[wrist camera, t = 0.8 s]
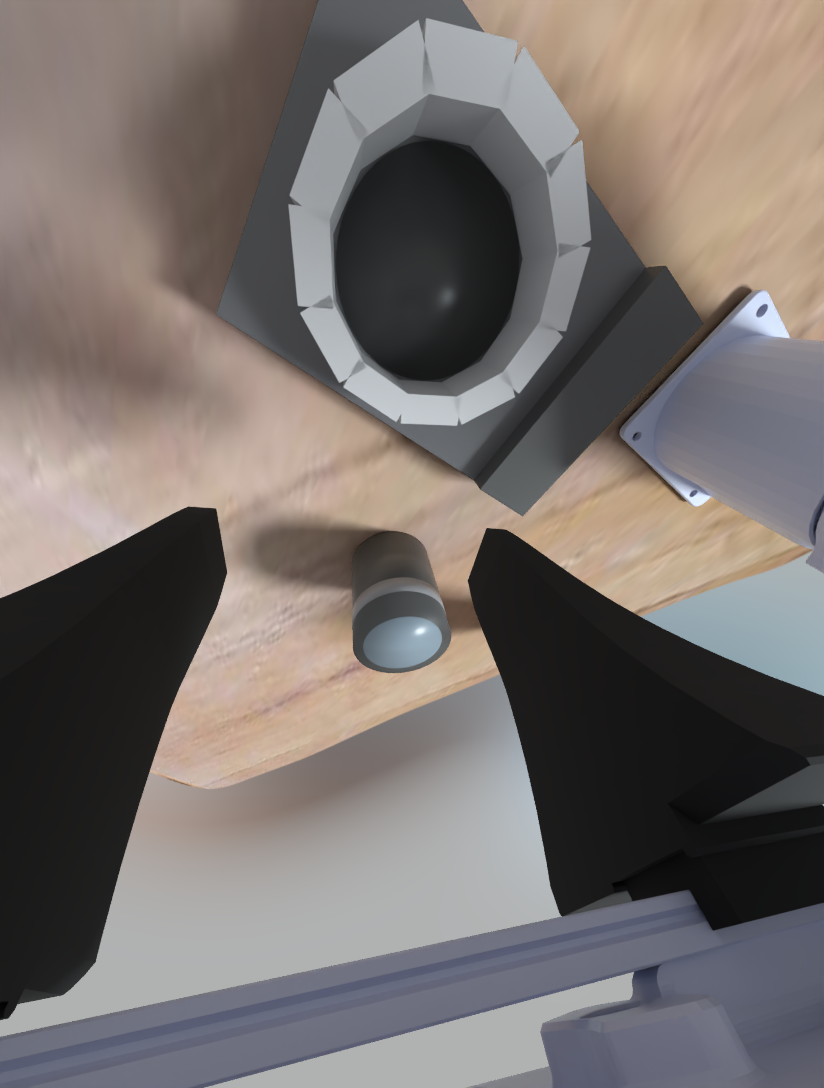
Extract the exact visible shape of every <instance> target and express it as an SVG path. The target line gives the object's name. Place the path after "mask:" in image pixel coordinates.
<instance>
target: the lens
mask: <svg viewBox="0 0 824 1088" xmlns="http://www.w3.org/2000/svg"><path fill="white" fill-rule="evenodd" d="M352 602H353V610H352V629H353V651H354V654H355V656H356V658H357V659H358V660H359V661H360V662H361V663H362V664H363V665H365V666H366V667H368V668H370V669H372V670H376V671H379V672H385V673H402V672H409V671H413V670H417V669H420V668H422V667H425V666H427V665H429V664H431V663H432V662H434V661H435V660H437V659H438V658H439V657H440V656H441V655H442V654H443V653H444V652H445V651H446V649H447V648H448V646H449V644H450V641H451V630H450V627H449V624H448V620H447V617H446V613H445V609H444V606H443V603H442V599H441V596H440V594H439V591H438V587H437V584H436V581H435V578H434V574H433V571H432V568H431V565H430V561H429V558H428V555H427V551H426V549H425V547H424V546H423V544H422V543H421V542H420V541H419V540H418V539H417V538H415V537H413V536H412V535H409V534H406V533H403V532H393V531H392V532H383V533H379V534H376V535H374V536H372V537H370V538H368V539H366V540H365V541H364V542H363V543H362V544H360V546H359V547H358V548H357V549H356V551H355V553H354V555H353V559H352Z"/></svg>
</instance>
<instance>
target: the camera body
mask: <svg viewBox="0 0 824 1088" xmlns="http://www.w3.org/2000/svg"><path fill="white" fill-rule="evenodd" d="M517 43H518V41H516V40H512V39H508V38H504V37H500V36H496V35H492V34H488V33H484V31H483V30H482V28H481V27H480V25H479V24H478V22H477V21H476V20H475V18H474V17H473V15H472V14H471V12H470V11H469V9H468V8H467V6H466V5H465V4H464V2H463V1H462V0H318V3H317V6H316V9H315V12H314V15H313V18H312V21H311V25H310V28H309V31H308V34H307V37H306V40H305V43H304V46H303V49H302V52H301V55H300V58H299V61H298V65H297V68H296V71H295V74H294V77H293V80H292V83H291V86H290V89H289V92H288V95H287V98H286V101H285V104H284V108H283V111H282V114H281V117H280V120H279V123H278V126H277V129H276V132H275V135H274V138H273V141H272V144H271V148H270V151H269V154H268V157H267V160H266V163H265V166H264V169H263V172H262V175H261V178H260V181H259V184H258V187H257V191H256V194H255V197H254V200H253V203H252V206H251V209H250V212H249V215H248V218H247V221H246V224H245V227H244V231H243V234H242V237H241V240H240V243H239V246H238V249H237V252H236V255H235V258H234V261H233V264H232V267H231V270H230V274H229V277H228V280H227V283H226V286H225V289H224V292H223V295H222V298H221V301H220V304H219V307H218V310H217V314H216V315H218V316H219V317H221V318H222V319H224V320H226V321H227V322H229V323H230V324H232V325H233V326H235V327H236V328H238V329H240V330H241V331H243V332H244V333H246V334H247V335H249V336H250V337H252V338H254V339H255V340H257V341H258V342H260V343H261V344H263V345H264V346H266V347H268V348H269V349H271V350H272V351H274V352H275V353H277V354H278V355H280V356H282V357H283V358H285V359H286V360H288V361H289V362H291V363H292V364H294V365H296V366H297V367H299V368H300V369H302V370H303V371H305V372H306V373H308V374H310V375H311V376H313V377H314V378H316V379H317V380H319V381H320V382H322V383H324V384H325V385H327V386H328V387H330V388H331V389H333V390H334V391H336V392H338V393H339V394H341V395H342V396H344V397H345V398H347V399H348V400H350V401H352V402H353V403H355V404H356V405H358V406H359V407H361V408H362V409H364V410H366V411H367V412H369V413H370V414H372V415H373V416H375V417H376V418H378V419H380V420H381V421H383V422H384V423H386V424H387V425H389V426H390V427H392V428H394V429H395V430H397V431H398V432H400V433H401V434H403V435H404V436H406V437H408V438H409V439H411V440H412V441H414V442H415V443H417V444H418V445H420V446H422V447H423V448H425V449H426V450H428V451H429V452H431V453H432V454H434V455H436V456H437V457H439V458H440V459H442V460H443V461H445V462H446V463H448V464H449V465H451V466H453V467H454V468H456V469H457V470H459V471H460V472H462V473H463V474H465V475H467V476H468V477H470V478H471V479H473V480H474V481H475V483H476V484H477V485H478V487H479V488H480V490H482V491H484V492H485V493H487V494H488V495H490V496H491V497H493V498H495V499H496V500H498V501H499V502H501V503H502V504H504V505H506V506H507V507H509V508H510V509H512V510H514V511H515V512H517V513H518V514H520V515H521V516H524V514H525V513H526V512H527V511H528V510H529V509H530V508H531V507H532V506H533V505H534V504H535V503H536V502H537V501H538V499H539V498H540V497H541V496H542V495H543V494H544V493H545V492H546V491H547V490H548V489H549V488H550V487H551V486H552V485H553V483H554V482H555V481H556V480H557V479H558V478H559V477H560V476H561V475H562V474H563V473H564V472H565V471H566V470H567V469H568V467H569V466H570V465H571V464H572V463H573V462H574V461H575V460H576V459H577V458H578V457H579V456H580V455H581V454H582V453H583V451H584V450H585V449H586V448H587V447H588V446H589V445H590V444H591V443H592V442H593V441H594V440H595V439H596V438H597V437H598V435H599V434H600V433H601V432H602V431H603V430H604V429H605V428H606V427H607V426H608V425H609V424H610V423H611V422H612V421H613V419H614V418H615V417H616V416H617V415H618V414H619V413H620V412H621V411H622V410H623V409H624V408H625V407H626V406H627V405H628V403H629V402H630V401H631V400H632V399H633V398H634V397H635V396H636V395H637V394H638V393H639V392H640V391H641V390H642V389H643V387H644V386H645V385H646V384H647V383H648V382H649V381H650V380H651V379H652V378H653V377H654V376H655V375H656V374H657V373H658V371H659V370H660V369H661V368H662V367H663V366H664V365H665V364H666V363H667V362H668V361H669V360H670V359H671V358H672V356H673V355H674V354H675V353H676V352H677V351H678V350H679V349H680V348H681V347H682V346H683V345H684V344H685V343H686V342H687V340H688V339H689V338H690V337H691V336H692V335H693V334H694V333H695V332H696V331H697V330H698V329H699V328H700V327H701V326H702V324H703V322H702V321H701V319H700V318H699V316H698V314H697V313H696V311H695V310H694V308H693V307H692V305H691V304H690V302H689V301H688V299H687V298H686V296H685V294H684V293H683V291H682V290H681V288H680V287H679V285H678V284H677V282H676V281H675V279H674V278H673V276H672V274H671V273H670V271H669V270H668V268H667V267H666V266H658V267H648V268H646V267H645V266H644V264H643V263H642V262H641V260H640V259H639V257H638V256H637V254H636V253H635V251H634V250H633V248H632V247H631V245H630V244H629V243H628V241H627V240H626V238H625V237H624V235H623V234H622V232H621V231H620V229H619V228H618V227H617V225H616V224H615V222H614V221H613V219H612V218H611V216H610V215H609V213H608V212H607V211H606V209H605V208H604V206H603V205H602V203H601V202H600V200H599V199H598V197H597V196H596V194H595V193H594V192H593V190H592V189H591V187H590V186H589V184H588V183H587V181H586V176H585V165H584V154H583V142H582V140H581V141H579V142H578V143H576V144H574V145H573V146H571V145H572V143H573V141H574V140H575V138H576V137H577V135H578V133H579V132H580V131H579V130H578V128H577V127H576V125H575V124H574V122H573V120H572V119H571V117H570V116H569V114H568V113H567V111H566V110H565V108H564V107H563V105H562V103H561V102H560V100H559V99H558V97H557V96H556V94H555V93H554V91H553V90H552V88H551V86H550V85H549V83H548V82H547V80H546V79H545V77H544V76H543V74H542V73H541V71H540V69H539V68H538V66H537V65H536V63H535V62H534V60H533V59H532V57H531V56H530V54H529V52H528V51H527V49H526V48H525V46H524V47H523V48H522V50H521V51H520V53H519V54H518V56H517V57H516V58H515V56H516V50H517ZM570 146H571V147H570Z"/></svg>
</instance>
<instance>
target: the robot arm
mask: <svg viewBox="0 0 824 1088" xmlns="http://www.w3.org/2000/svg"><path fill="white" fill-rule="evenodd" d="M759 307H760V308H759ZM758 309H759V311H758V312H757V310H758ZM756 313H757V314H756ZM636 432H637V434H636V436H635V437H634V438H633V435H634V434H635V433H636ZM620 437H621V438H622V439H623V440H624V441H625V442H626V443H627V444H628V445H629V446H630V447H631V448H632V449H634V450H635V451H636V452H637V453H638V454H639V455H640V456H641V457H642V458H643V459H644V460H645V461H646V462H647V463H648V464H649V465H650V466H651V467H652V468H653V469H654V470H655V471H656V472H657V473H658V474H659V475H660V476H661V477H662V478H663V479H664V480H665V481H667V482H668V483H669V484H670V485H671V486H672V487H673V488H674V489H675V490H676V491H677V492H678V493H679V494H680V495H681V496H682V497H683V498H684V499H685V500H686V501H687V502H688V503H689V504H691V505H693V506H700V505H702V504H703V503H704V502H706V501H707V500H708V499H709V498H710V497H713V498H714V499H716V500H718V501H720V502H722V503H724V504H725V505H727V506H729V507H731V508H733V509H734V510H736V511H738V512H740V513H742V514H743V515H745V516H747V517H749V518H751V519H752V520H754V521H756V522H758V523H760V524H762V525H763V526H765V527H767V528H769V529H771V530H772V531H774V532H776V533H778V534H780V535H781V536H783V537H785V538H787V539H789V540H791V541H792V542H794V543H796V544H799V545H801V546H803V547H806V548H809V549H812V550H813V551H812V553H811V555H810V556H809V557H808V559H807V560H806V563H807V564H809V565H810V566H812V567H814V568H816V569H817V570H819V571H821V572H823V573H824V341H815V340H804V339H794V338H790V336H789V334H788V332H787V330H786V328H785V326H784V324H783V322H782V320H781V318H780V316H779V314H778V312H777V310H776V308H775V306H774V304H773V302H772V300H771V298H770V296H769V294H768V292H767V291H766V290H755V291H753V292H751V293H750V294H749V295H747V296H746V297H745V298H744V299H743V300H742V302H741V303H740V304H739V305H738V306H737V307H736V308H735V309H734V310H733V311H732V312H731V313H730V314H729V315H728V316H727V317H726V318H725V319H724V320H723V321H722V322H721V323H720V324H719V326H718V327H717V328H716V329H715V330H714V331H713V332H712V333H711V334H710V335H709V336H708V337H707V338H706V339H705V340H704V341H703V342H702V343H701V344H700V345H699V346H698V347H697V348H696V350H695V351H694V352H693V353H692V354H691V355H690V356H689V357H688V358H687V359H686V360H685V361H684V362H683V363H682V364H681V365H680V366H679V367H678V368H677V369H676V370H675V371H674V372H673V374H672V375H671V376H670V377H669V378H668V379H667V380H666V381H665V382H664V383H663V384H662V385H661V386H660V387H659V388H658V389H657V390H656V391H655V392H654V393H653V394H652V395H651V396H650V398H649V399H648V400H647V401H646V402H645V403H644V404H643V405H642V406H641V407H640V408H639V409H638V410H637V411H636V412H635V413H634V414H633V415H632V416H631V417H630V418H629V419H628V420H627V422H626V423H625V424H624V425H623V426H622V427H621V429H620ZM226 575H227V569H226V563H225V557H224V552H223V546H222V540H221V534H220V528H219V523H218V517H217V511H216V509H214V508H200V507H187V508H184V509H182V510H180V511H178V512H176V513H174V514H172V515H170V516H168V517H166V518H164V519H162V520H161V521H159V522H157V523H155V524H153V525H151V526H149V527H148V528H146V529H144V530H142V531H140V532H138V533H136V534H135V535H133V536H131V537H129V538H127V539H125V540H123V541H121V542H120V543H118V544H116V545H114V546H112V547H110V548H108V549H106V550H104V551H102V552H100V553H98V554H96V555H94V556H92V557H90V558H88V559H86V560H84V561H82V562H80V563H78V564H76V565H74V566H72V567H70V568H67V569H65V570H63V571H61V572H59V573H57V574H55V575H53V576H51V577H49V578H47V579H44V580H42V581H40V582H38V583H35V584H33V585H31V586H29V587H26V588H24V589H22V590H19V591H17V592H15V593H12V594H10V595H7V596H5V597H2V598H0V1020H3V1019H7V1018H9V1017H10V1015H11V1014H12V1013H13V1011H14V1010H15V1008H16V1006H17V1004H20V1003H25V1002H30V1001H36V1000H41V999H45V998H50V997H55V996H61V995H64V994H65V993H66V992H67V991H68V990H70V989H71V988H72V987H73V986H74V985H75V984H76V983H77V982H78V981H79V980H80V979H81V978H82V977H83V976H84V975H85V974H86V973H87V972H88V970H89V969H90V968H91V967H92V966H93V964H94V963H95V962H96V958H97V954H98V950H99V946H100V942H101V938H102V934H103V930H104V927H105V923H106V919H107V915H108V912H109V908H110V904H111V901H112V896H113V893H114V889H115V886H116V882H117V878H118V874H119V871H120V867H121V864H122V860H123V857H124V853H125V850H126V847H127V843H128V840H129V837H130V833H131V830H132V826H133V823H134V820H135V816H136V812H137V809H138V806H139V802H140V799H141V797H142V793H143V790H144V787H145V784H146V781H147V777H148V774H149V772H150V768H151V765H152V762H153V759H154V756H155V753H156V750H157V747H158V744H159V741H160V738H161V735H162V733H163V730H164V727H165V724H166V721H167V718H168V715H169V712H170V709H171V707H172V704H173V702H174V699H175V697H176V695H177V692H178V690H179V687H180V685H181V683H182V681H183V679H184V677H185V675H186V673H187V670H188V668H189V666H190V664H191V662H192V660H193V658H194V655H195V653H196V651H197V649H198V647H199V645H200V643H201V640H202V638H203V636H204V634H205V632H206V630H207V628H208V625H209V623H210V621H211V619H212V617H213V614H214V612H215V610H216V608H217V605H218V602H219V599H220V595H221V592H222V589H223V585H224V582H225V578H226ZM468 584H469V588H470V593H471V597H472V601H473V605H474V609H475V612H476V615H477V617H478V620H479V622H480V625H481V627H482V630H483V633H484V635H485V638H486V640H487V643H488V645H489V648H490V650H491V652H492V655H493V657H494V660H495V662H496V665H497V667H498V670H499V672H500V675H501V677H502V680H503V683H504V686H505V689H506V692H507V695H508V698H509V702H510V705H511V709H512V712H513V716H514V719H515V723H516V726H517V730H518V734H519V738H520V741H521V745H522V749H523V753H524V757H525V761H526V765H527V769H528V773H529V778H530V782H531V787H532V792H533V796H534V801H535V805H536V810H537V815H538V820H539V825H540V830H541V835H542V841H543V846H544V851H545V857H546V862H547V868H548V874H549V880H550V886H551V889H552V892H553V895H554V898H555V901H556V904H557V907H558V910H559V913H560V914H561V916H562V917H558V918H554V919H549V920H544V921H540V922H535V923H530V924H526V925H521V926H516V927H512V928H507V929H502V930H498V931H493V932H488V933H484V934H479V935H474V936H470V937H465V938H460V939H456V940H451V941H446V942H442V943H437V944H433V945H428V946H423V947H419V948H414V949H409V950H404V951H400V952H395V953H390V954H386V955H381V956H376V957H372V958H367V959H362V960H358V961H353V962H348V963H343V964H339V965H334V966H329V967H325V968H321V969H316V970H311V971H307V972H302V973H297V974H292V975H288V976H283V977H278V978H273V979H269V980H264V981H259V982H255V983H250V984H245V985H241V986H236V987H231V988H227V989H222V990H218V991H213V992H208V993H203V994H199V995H194V996H189V997H185V998H180V999H176V1000H171V1001H166V1002H161V1003H157V1004H152V1005H148V1006H143V1007H138V1008H133V1009H129V1010H124V1011H119V1012H115V1013H110V1014H106V1015H101V1016H96V1017H92V1018H87V1019H83V1020H78V1021H72V1022H68V1023H64V1024H59V1025H54V1026H49V1027H44V1028H40V1029H35V1030H31V1031H26V1032H21V1033H16V1034H12V1035H7V1036H3V1037H0V1088H204V1087H208V1086H212V1085H215V1084H219V1083H223V1082H227V1081H230V1080H233V1079H238V1078H241V1077H245V1076H248V1075H252V1074H256V1073H259V1072H264V1071H267V1070H271V1069H275V1068H278V1067H282V1066H286V1065H289V1064H293V1063H297V1062H301V1061H304V1060H307V1059H312V1058H315V1057H319V1056H323V1055H327V1054H330V1053H334V1052H337V1051H341V1050H345V1049H349V1048H352V1047H356V1046H360V1045H363V1044H367V1043H371V1042H375V1041H379V1040H382V1039H386V1038H390V1037H393V1036H397V1035H401V1034H405V1033H408V1032H412V1031H416V1030H419V1029H423V1028H427V1027H431V1026H434V1025H438V1024H441V1023H445V1022H449V1021H453V1020H456V1019H460V1018H464V1017H467V1016H471V1015H475V1014H479V1013H482V1012H486V1011H490V1010H494V1009H497V1008H501V1007H504V1006H508V1005H512V1004H516V1003H519V1002H523V1001H527V1000H531V999H534V998H538V997H541V996H545V995H549V994H553V993H556V992H560V991H564V990H568V989H571V988H575V987H579V986H583V985H586V984H590V983H594V982H597V981H601V980H605V979H609V978H612V977H616V976H620V975H623V974H627V973H631V972H634V971H635V972H634V975H633V979H632V986H633V996H632V997H631V999H630V1000H626V1001H619V1002H613V1003H606V1004H600V1005H595V1006H591V1007H587V1008H583V1009H579V1010H576V1011H572V1012H570V1013H567V1014H565V1015H562V1016H560V1017H557V1018H555V1019H552V1020H550V1021H547V1022H545V1023H543V1024H542V1028H541V1036H542V1040H543V1044H544V1048H545V1052H546V1055H547V1059H548V1063H549V1066H548V1067H545V1068H541V1069H537V1070H533V1071H529V1072H525V1073H521V1074H517V1075H513V1076H510V1077H506V1078H502V1079H498V1080H494V1081H490V1082H487V1083H482V1084H479V1085H475V1086H471V1087H467V1088H824V806H823V805H822V804H824V696H822V695H819V694H816V693H814V692H811V691H808V690H806V689H803V688H800V687H797V686H795V685H792V684H789V683H787V682H784V681H781V680H778V679H775V678H773V677H770V676H768V675H765V674H763V673H760V672H758V671H756V670H753V669H751V668H748V667H746V666H744V665H741V664H739V663H736V662H734V661H732V660H729V659H727V658H724V657H722V656H720V655H717V654H715V653H713V652H711V651H709V650H706V649H704V648H702V647H700V646H697V645H695V644H693V643H691V642H689V641H687V640H685V639H683V638H681V637H679V636H677V635H675V634H673V633H671V632H669V631H666V630H664V629H662V628H661V627H659V626H656V625H655V624H653V623H651V622H649V621H647V620H645V619H643V618H642V617H640V616H638V615H636V614H634V613H633V612H631V611H629V610H627V609H626V608H624V607H622V606H620V605H618V604H617V603H615V602H613V601H612V600H610V599H608V598H607V597H605V596H604V595H602V594H600V593H599V592H597V591H596V590H594V589H593V588H591V587H590V586H588V585H586V584H585V583H583V582H582V581H580V580H579V579H577V578H576V577H574V576H573V575H571V574H570V573H569V572H567V571H566V570H564V569H563V568H561V567H560V566H559V565H557V564H556V563H554V562H553V561H551V560H550V559H549V558H547V557H546V556H545V555H543V554H542V553H540V552H539V551H538V550H536V549H535V548H533V547H532V546H530V545H529V544H528V543H526V542H525V541H523V540H522V539H520V538H519V537H517V536H516V535H514V534H513V533H511V532H509V531H507V530H504V529H490V528H487V529H486V531H485V534H484V537H483V540H482V543H481V545H480V548H479V551H478V554H477V557H476V559H475V562H474V565H473V568H472V571H471V573H470V576H469V579H468Z"/></svg>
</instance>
